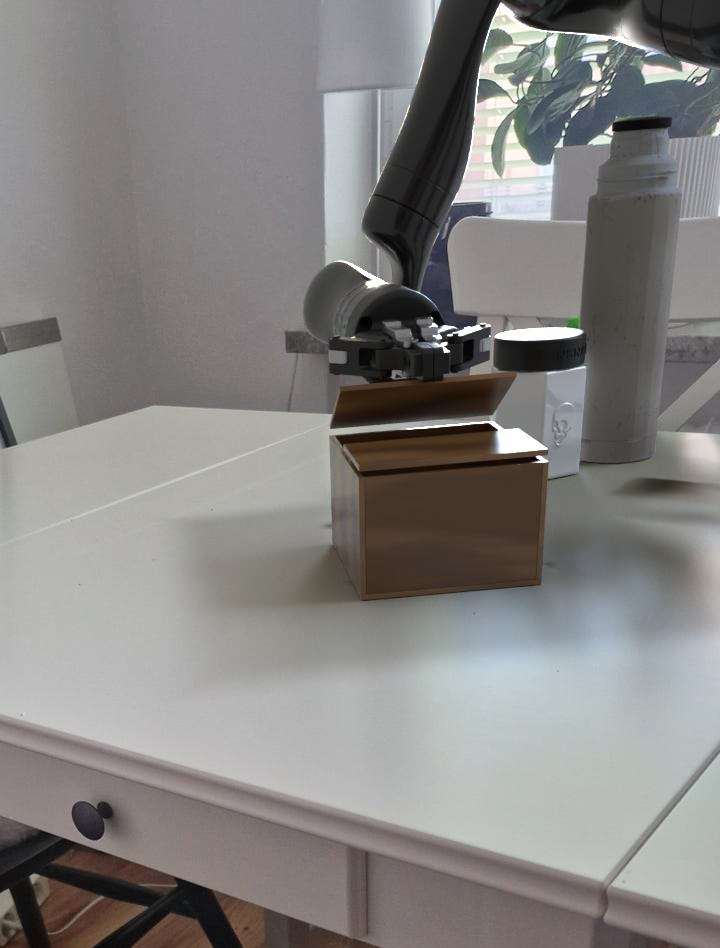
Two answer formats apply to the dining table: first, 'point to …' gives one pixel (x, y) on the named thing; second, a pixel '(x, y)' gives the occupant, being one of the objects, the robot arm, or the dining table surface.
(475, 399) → the flap
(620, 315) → the thermos bottle
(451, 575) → the carton
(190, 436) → the dining table surface
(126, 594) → the dining table surface
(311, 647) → the dining table surface
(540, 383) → the jar
